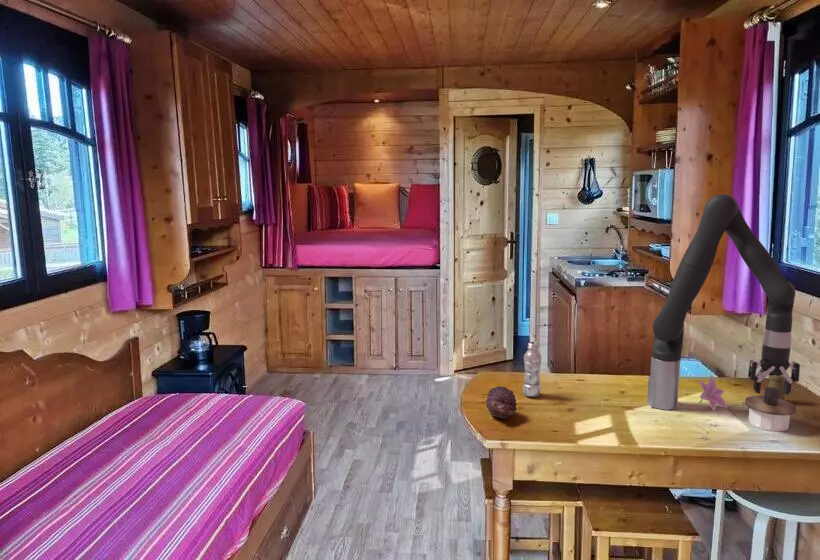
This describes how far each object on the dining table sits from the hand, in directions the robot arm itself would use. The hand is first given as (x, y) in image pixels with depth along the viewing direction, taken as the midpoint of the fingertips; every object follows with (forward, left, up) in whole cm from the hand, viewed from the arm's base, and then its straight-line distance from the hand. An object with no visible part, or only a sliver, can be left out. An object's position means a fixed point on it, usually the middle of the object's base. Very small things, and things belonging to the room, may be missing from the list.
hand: (771, 393), depth 190 cm
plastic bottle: (-74, +17, -11) cm, 76 cm away
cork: (+11, +21, -11) cm, 26 cm away
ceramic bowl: (0, 0, -11) cm, 11 cm away
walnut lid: (0, 0, -5) cm, 5 cm away
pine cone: (-85, -3, -11) cm, 86 cm away
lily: (-13, +14, -11) cm, 22 cm away
